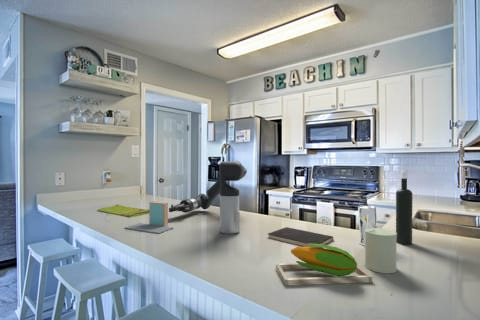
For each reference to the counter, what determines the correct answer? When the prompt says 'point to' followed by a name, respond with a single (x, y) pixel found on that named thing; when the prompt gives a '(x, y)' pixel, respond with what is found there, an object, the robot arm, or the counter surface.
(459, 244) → the counter surface
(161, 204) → the tile
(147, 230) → the mat
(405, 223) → the wine bottle
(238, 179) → the robot arm
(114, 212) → the dish towel
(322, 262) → the corn
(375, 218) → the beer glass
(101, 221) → the counter surface
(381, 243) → the can
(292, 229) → the hardcover book
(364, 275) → the corn rest
